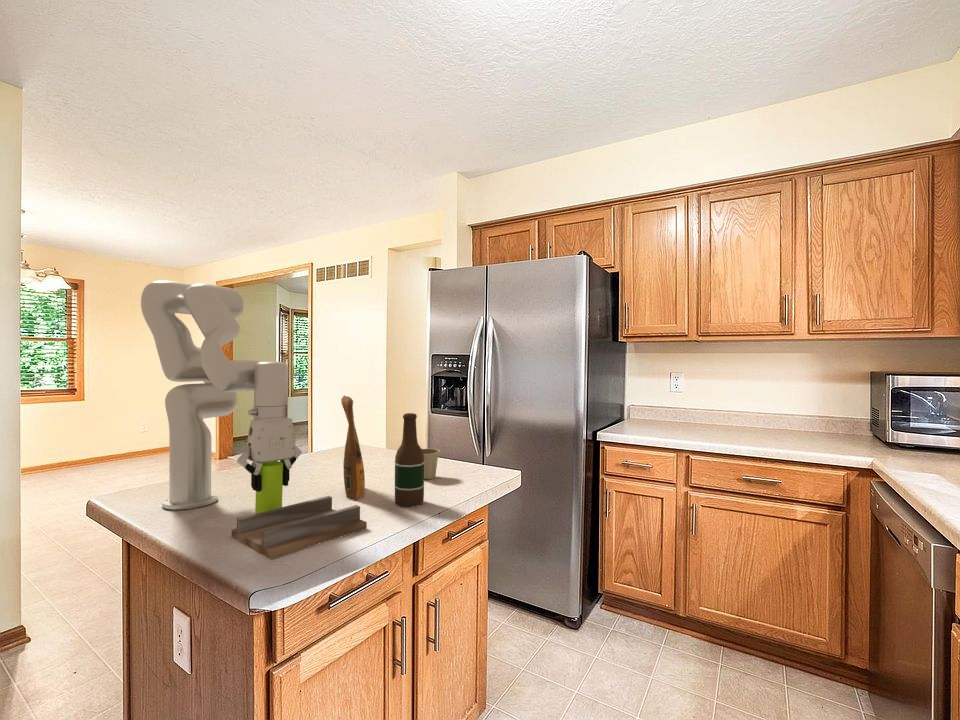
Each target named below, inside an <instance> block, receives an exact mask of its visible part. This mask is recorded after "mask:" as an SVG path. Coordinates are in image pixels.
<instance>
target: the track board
mask: <svg viewBox="0 0 960 720" xmlns="http://www.w3.org/2000/svg"><path fill="white" fill-rule="evenodd" d="M367 524H368V523H367V520H366V521H365V520H363V519H361V506H359V505H356V504H355V505H352V506H347V507H345V508H342V509H337V510H335V509H333V497H332V496H330V495H328V496H322V497H318V498H314V499H309V500H305V501H301V502H297V503H293V504H289V505H286V506H282V507H281V508H277V509H272V510H268V511H264V512H260V513H256V514H255V513H253V514H248V515H245V516H241V517H236V528H233V529H231V538H234V539H236V541H239V542H240V543H242V544H244V545H245V546H247V547H249V548H250V549H253V550H255V551H256V552H258V553H259V554H261V555H263V556H265V557H266V558H269V559H270V560H274V559H277V558H281V557H284V556H286V554H287V555H290V554H293V553H295V552H299V551H302V550H305V549H308V548H310V547H309V546H311V547H314V546H317V545H316V544H318V545H320V544H319V543H321V544H323V542H324V543H326V542H325V541H327V542H329V540H330V541H333V540H336V539H339V538H341V536H342V537H344V535H345V536H348V535H351V534H353V532H354V533H357V532H360V531H363V530H362V529H364V530H365V529H366V528H367ZM367 529H368V528H367ZM367 529H366V530H367ZM359 530H360V531H359ZM356 531H357V532H356ZM350 533H351V534H350ZM347 534H348V535H347ZM338 537H339V538H338ZM335 538H336V539H335ZM332 539H333V540H332ZM313 545H314V546H313ZM307 547H308V548H307ZM304 548H305V549H304ZM301 549H302V550H301ZM298 550H299V551H298ZM289 553H290V554H289Z"/></svg>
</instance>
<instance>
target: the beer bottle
mask: <svg viewBox="0 0 960 720" xmlns="http://www.w3.org/2000/svg"><path fill="white" fill-rule="evenodd" d="M402 419H403V425H402V426H403V428H402V439H401V440H402V441H401V444H400V445H399V447H398V449H397V451H396V453H395V458H394V459H395V460H394V504H395V505H396V504H397V506H399V508H415V507H420V506H421V505H422V504H423V503H424V501H425V500H424V499H425V480H424V454H423V452H422V449H423V448H421V446H420V444H419V442H418V441H419V440H418V436H417V433H418V432H417V419H418V415H417V414H416V413H414V412H409V413H404V414H403V415H402Z"/></svg>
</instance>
